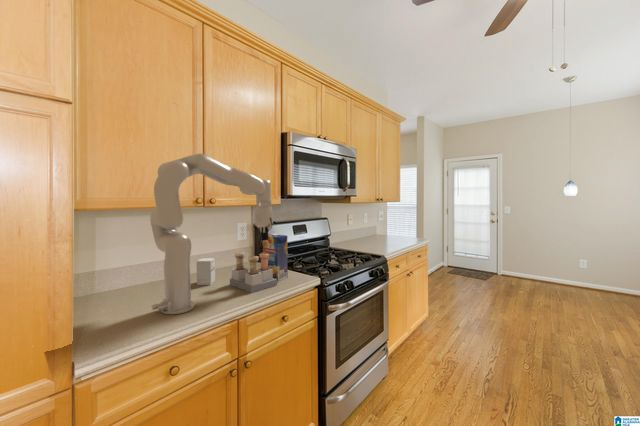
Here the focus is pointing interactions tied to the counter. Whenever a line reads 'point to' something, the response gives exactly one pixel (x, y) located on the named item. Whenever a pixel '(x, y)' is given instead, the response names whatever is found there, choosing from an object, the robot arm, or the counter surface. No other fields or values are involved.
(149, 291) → the counter surface
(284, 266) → the juice carton
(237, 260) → the beech plug far
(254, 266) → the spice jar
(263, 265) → the terracotta plug
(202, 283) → the supplement box
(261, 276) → the board
